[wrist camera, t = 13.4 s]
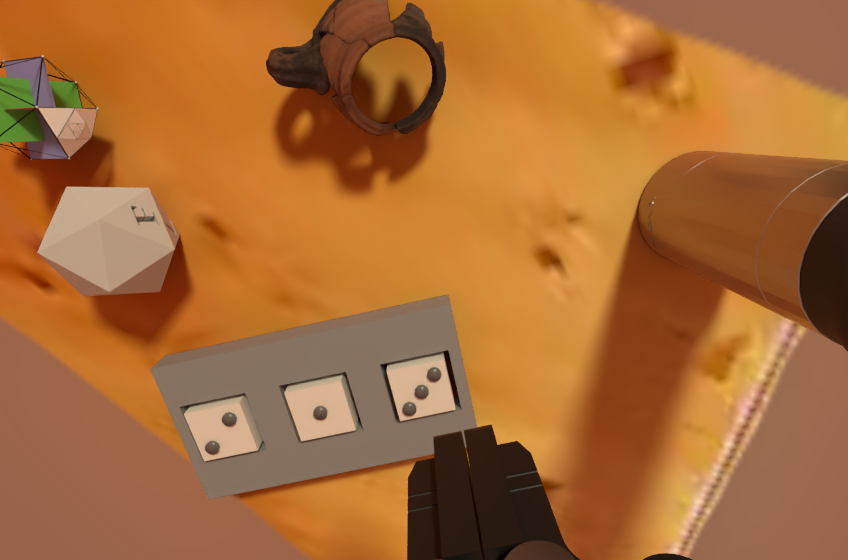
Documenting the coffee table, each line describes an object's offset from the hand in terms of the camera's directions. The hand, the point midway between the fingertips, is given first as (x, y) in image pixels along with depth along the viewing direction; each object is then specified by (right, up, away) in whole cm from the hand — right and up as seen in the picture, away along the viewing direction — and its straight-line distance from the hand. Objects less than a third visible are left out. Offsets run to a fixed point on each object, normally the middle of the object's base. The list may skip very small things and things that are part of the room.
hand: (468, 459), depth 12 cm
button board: (-10, -6, +32) cm, 34 cm away
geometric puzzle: (-28, +17, +24) cm, 41 cm away
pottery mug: (-6, +21, +24) cm, 32 cm away
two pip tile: (-19, -8, +32) cm, 38 cm away
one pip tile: (-10, -6, +32) cm, 34 cm away
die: (-24, +8, +27) cm, 38 cm away
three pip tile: (-1, -4, +32) cm, 32 cm away
